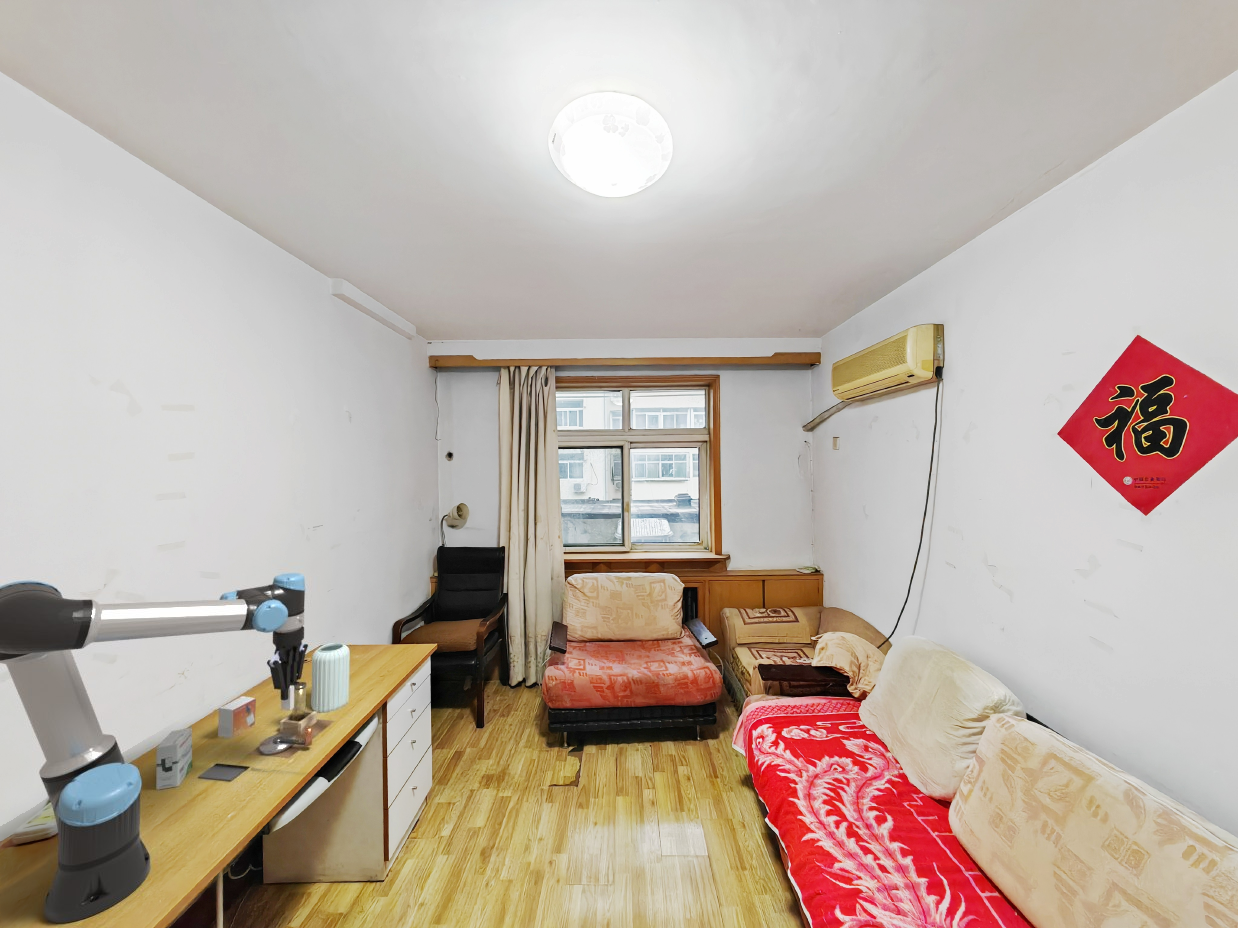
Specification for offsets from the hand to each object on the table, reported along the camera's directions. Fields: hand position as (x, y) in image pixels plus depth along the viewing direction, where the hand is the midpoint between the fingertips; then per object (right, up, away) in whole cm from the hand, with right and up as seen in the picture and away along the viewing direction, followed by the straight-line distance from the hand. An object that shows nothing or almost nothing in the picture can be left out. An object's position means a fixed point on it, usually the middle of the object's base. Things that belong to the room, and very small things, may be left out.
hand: (287, 708), depth 140 cm
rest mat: (-16, -17, 0) cm, 24 cm away
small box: (-27, -17, +16) cm, 35 cm away
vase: (-7, -17, +33) cm, 38 cm away
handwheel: (-5, -15, +8) cm, 18 cm away
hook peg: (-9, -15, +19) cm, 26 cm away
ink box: (-28, -17, -5) cm, 33 cm away
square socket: (-9, -15, +19) cm, 26 cm away
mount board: (-7, -17, +13) cm, 23 cm away
